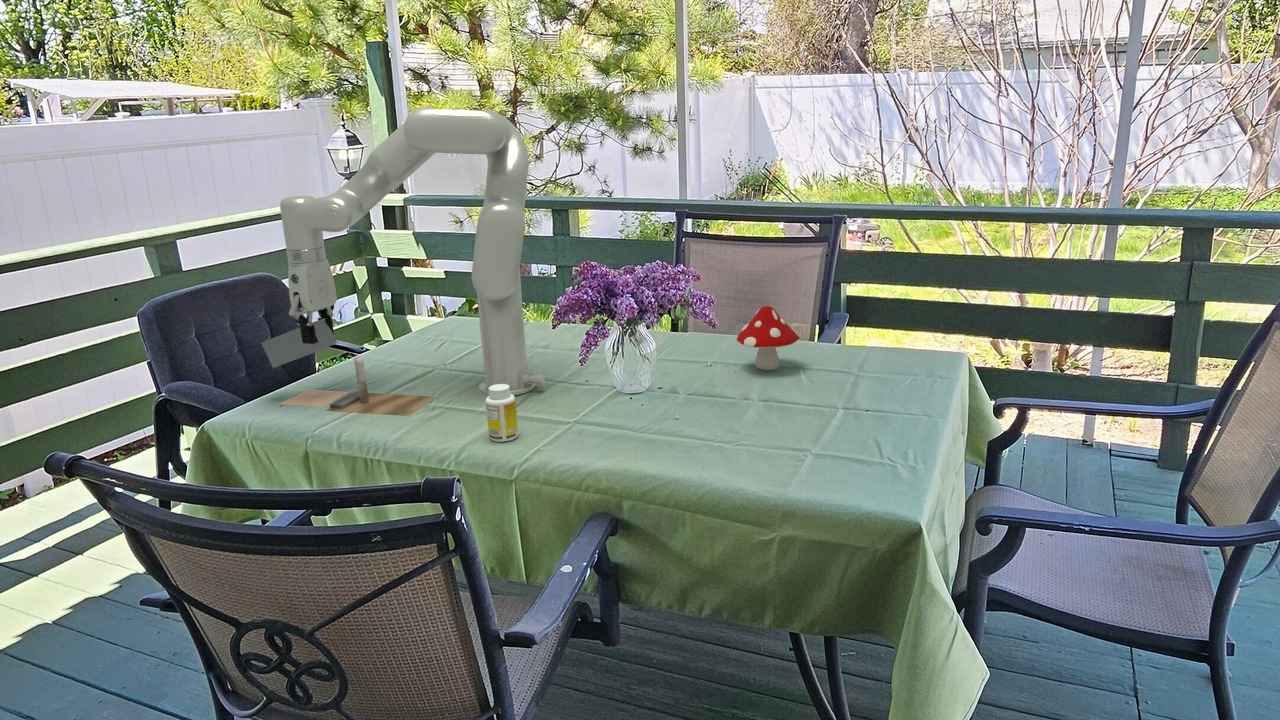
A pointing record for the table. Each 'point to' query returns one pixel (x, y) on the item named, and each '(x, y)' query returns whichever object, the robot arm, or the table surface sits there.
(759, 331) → the decorative mushroom
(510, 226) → the robot arm
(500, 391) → the supplement bottle
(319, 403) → the terracotta tile
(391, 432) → the table surface
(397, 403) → the post block
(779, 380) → the table surface
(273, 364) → the steel link
